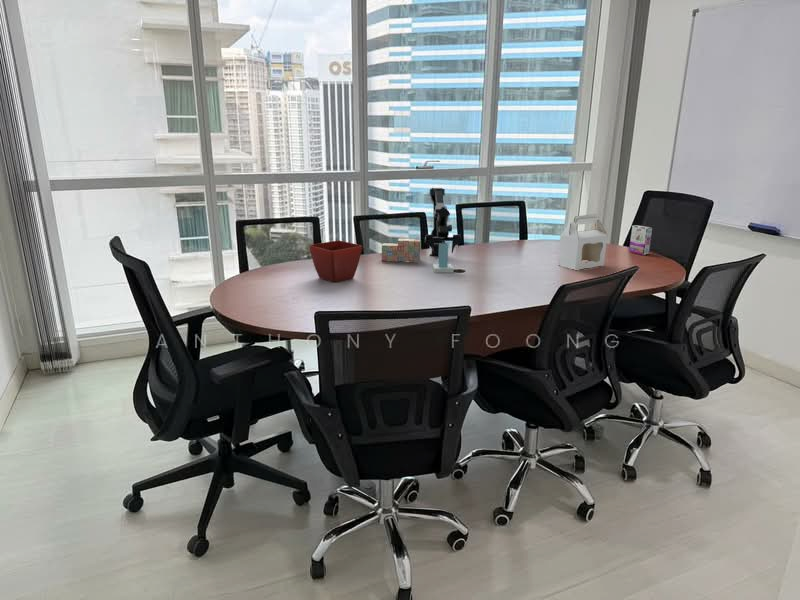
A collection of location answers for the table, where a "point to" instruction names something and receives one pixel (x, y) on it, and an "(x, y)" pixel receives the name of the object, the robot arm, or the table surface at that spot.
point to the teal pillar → (443, 255)
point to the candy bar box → (640, 239)
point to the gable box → (589, 239)
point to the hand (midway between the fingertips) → (443, 252)
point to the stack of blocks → (402, 250)
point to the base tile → (442, 268)
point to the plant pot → (335, 260)
